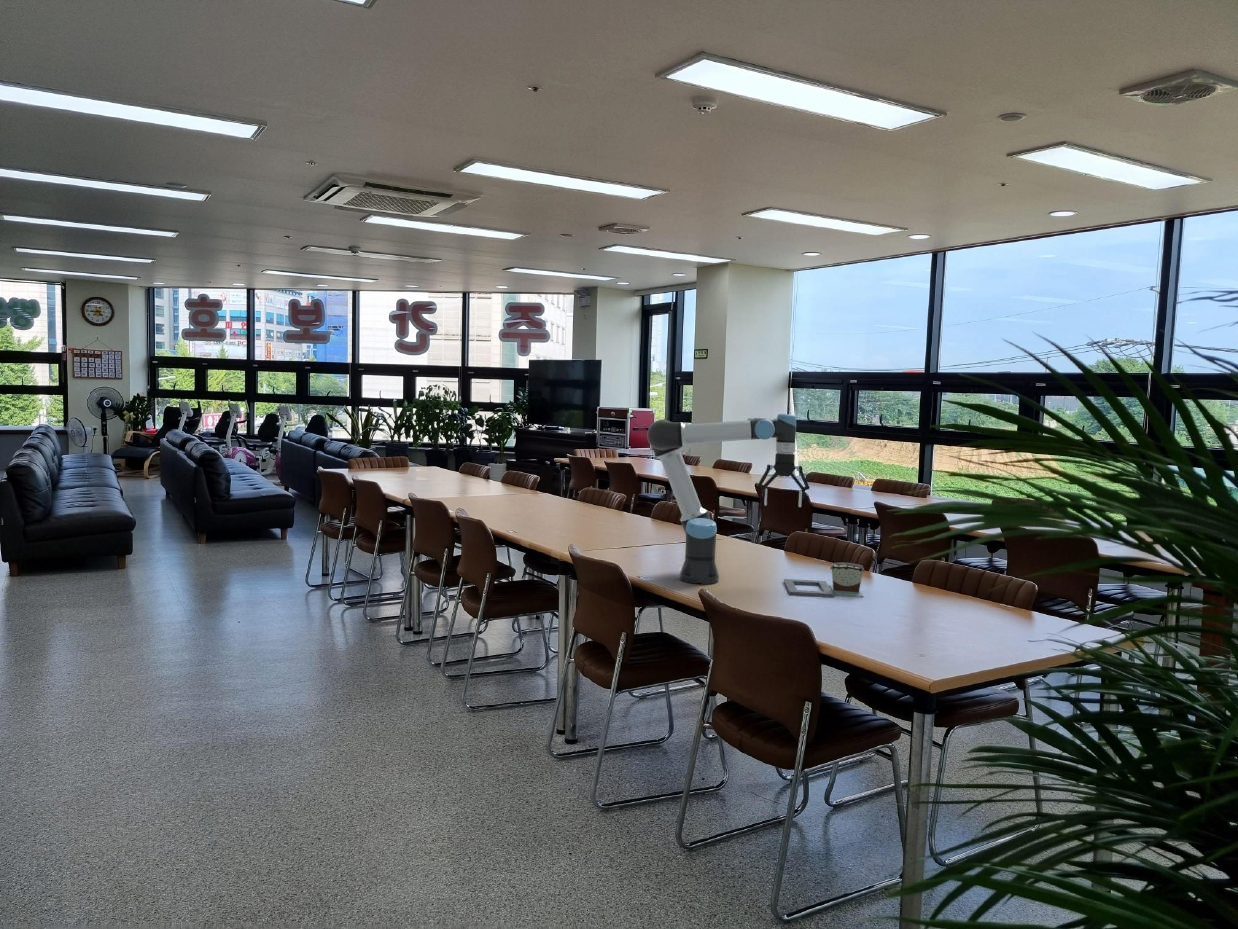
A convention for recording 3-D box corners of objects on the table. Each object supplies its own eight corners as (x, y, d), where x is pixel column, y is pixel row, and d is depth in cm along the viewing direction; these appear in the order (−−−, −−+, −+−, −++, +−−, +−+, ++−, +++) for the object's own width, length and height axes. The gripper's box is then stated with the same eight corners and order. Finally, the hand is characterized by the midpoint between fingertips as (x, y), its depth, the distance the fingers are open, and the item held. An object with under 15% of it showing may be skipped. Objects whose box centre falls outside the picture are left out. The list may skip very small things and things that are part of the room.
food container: (862, 589, 321) (863, 563, 320) (863, 593, 315) (864, 566, 314) (828, 587, 323) (830, 561, 322) (829, 590, 317) (830, 564, 316)
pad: (835, 595, 311) (835, 594, 311) (829, 585, 327) (829, 584, 327) (863, 597, 310) (863, 596, 310) (855, 587, 326) (855, 586, 326)
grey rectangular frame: (789, 594, 310) (789, 591, 310) (783, 581, 332) (783, 578, 332) (834, 597, 309) (834, 594, 308) (825, 584, 330) (825, 581, 330)
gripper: (754, 452, 334) (751, 505, 336) (818, 454, 332) (815, 508, 334) (752, 451, 342) (750, 503, 343) (815, 453, 339) (813, 506, 341)
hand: (782, 506), depth 338 cm, fingers open, 13 cm apart
